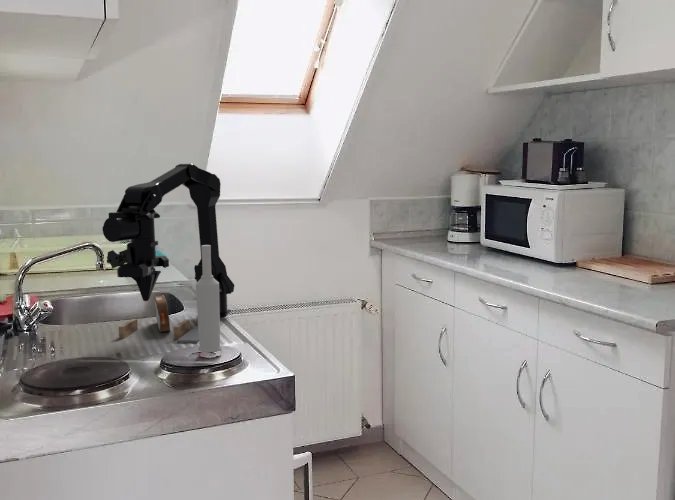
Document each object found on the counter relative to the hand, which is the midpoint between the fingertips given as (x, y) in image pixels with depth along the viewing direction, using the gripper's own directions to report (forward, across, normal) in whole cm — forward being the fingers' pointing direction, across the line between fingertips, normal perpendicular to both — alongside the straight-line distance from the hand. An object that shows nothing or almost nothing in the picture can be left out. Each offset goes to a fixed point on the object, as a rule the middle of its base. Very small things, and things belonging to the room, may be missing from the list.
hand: (145, 300), depth 172 cm
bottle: (+10, +14, +20) cm, 26 cm away
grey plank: (+10, -5, +11) cm, 16 cm away
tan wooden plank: (+10, -5, 0) cm, 11 cm away
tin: (+10, -12, 0) cm, 15 cm away
